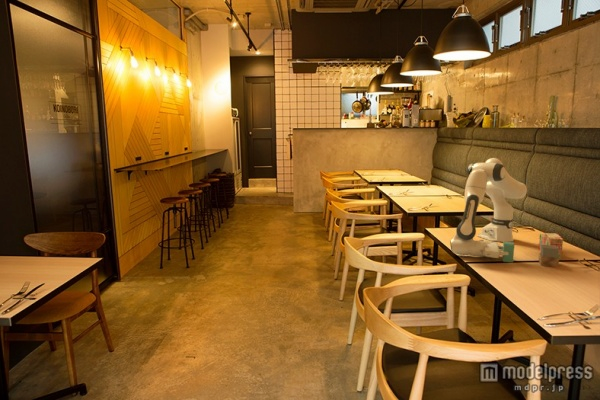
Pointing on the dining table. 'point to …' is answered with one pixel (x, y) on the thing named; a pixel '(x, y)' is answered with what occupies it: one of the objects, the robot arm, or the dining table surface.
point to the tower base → (548, 261)
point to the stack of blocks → (551, 241)
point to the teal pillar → (510, 248)
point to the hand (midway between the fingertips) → (507, 251)
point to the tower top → (549, 251)
